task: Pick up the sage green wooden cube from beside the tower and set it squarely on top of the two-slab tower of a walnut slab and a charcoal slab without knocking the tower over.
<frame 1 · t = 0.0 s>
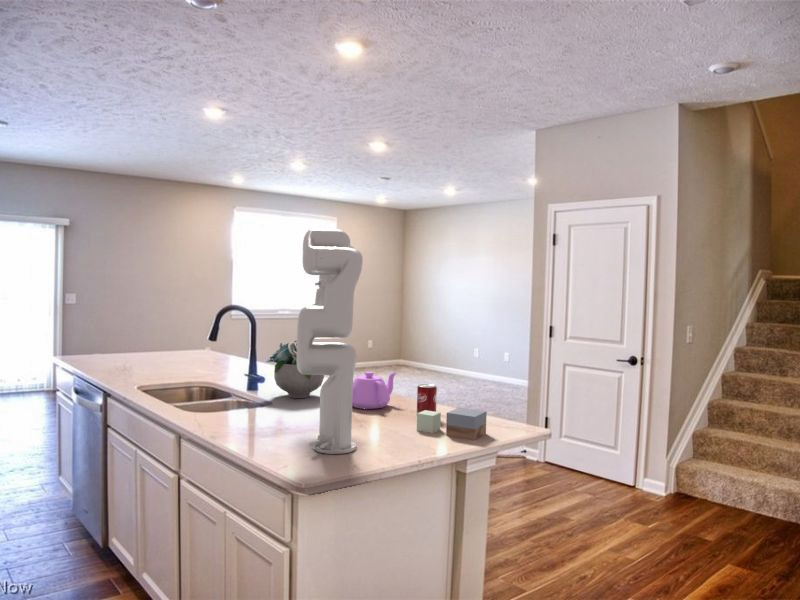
hand: (328, 331, 216), 31 cm above the worktop, tool pointing down, fingers open, 9 cm apart
sage block: (428, 430, 198), on the worktop
flower arrangement: (299, 397, 249), on the worktop
block top: (466, 423, 193), point 4 cm above the worktop, touching block bottom
teapot: (373, 406, 235), on the worktop
soda can: (426, 418, 216), on the worktop
block bottom: (466, 435, 193), on the worktop, touching block top
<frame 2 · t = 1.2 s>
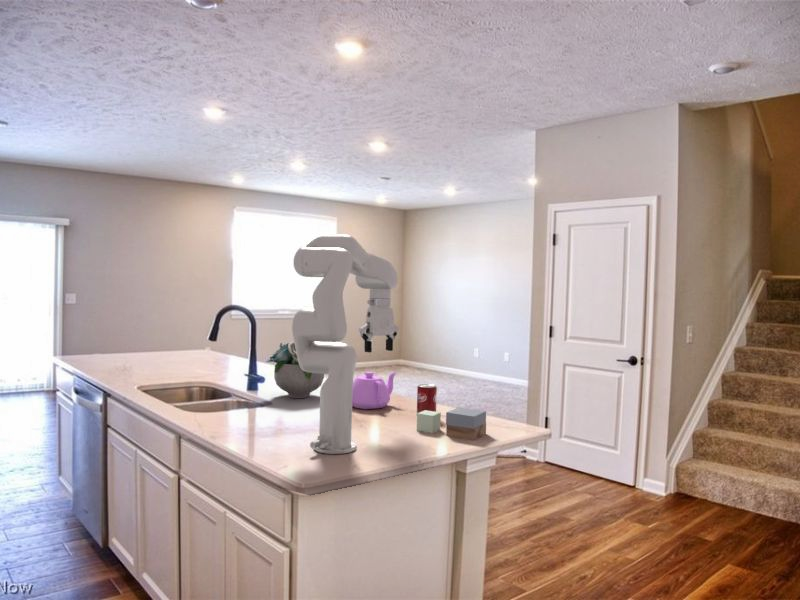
hand: (378, 351, 207), 25 cm above the worktop, tool pointing down, fingers open, 9 cm apart
nothing on the worktop moved.
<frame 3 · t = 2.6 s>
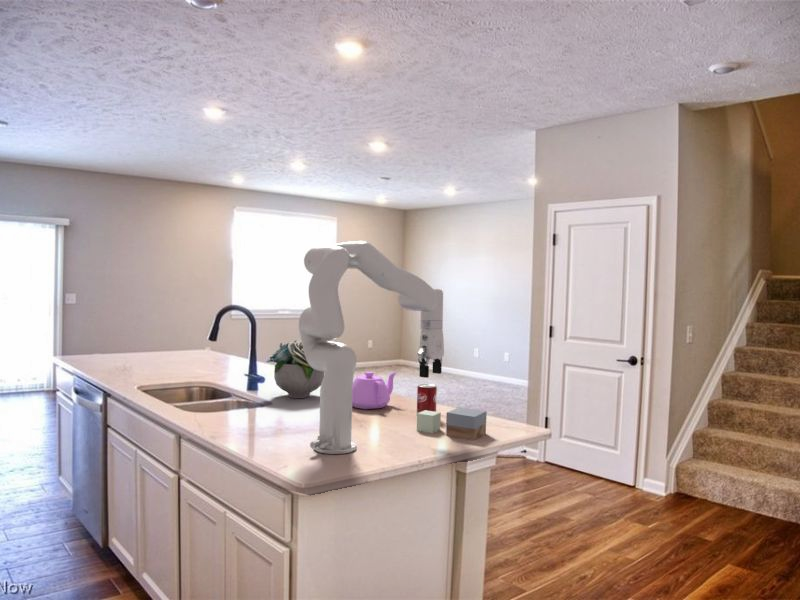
hand: (430, 375, 198), 19 cm above the worktop, tool pointing down, fingers open, 9 cm apart
block top: (466, 423, 193), point 4 cm above the worktop
block bottom: (466, 435, 193), on the worktop
everything else where it was.
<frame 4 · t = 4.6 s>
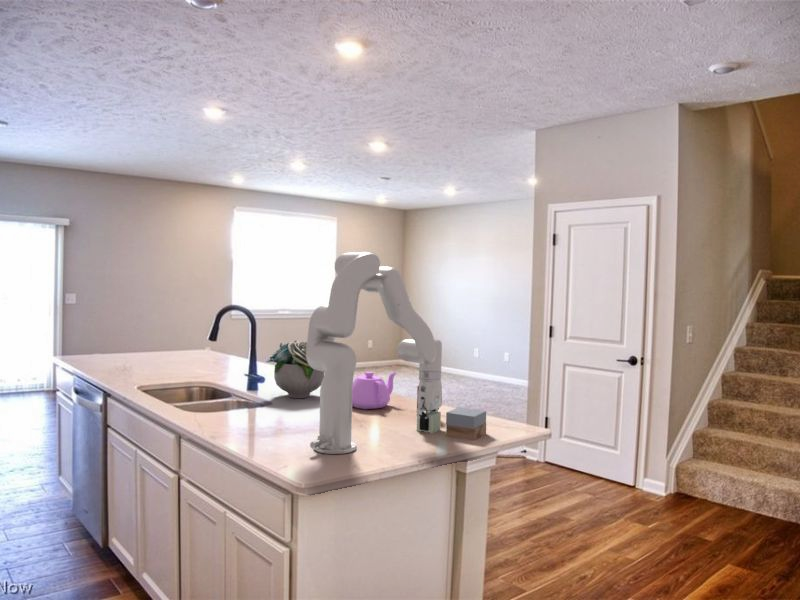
hand: (428, 427, 198), 1 cm above the worktop, tool pointing down, fingers closed on sage block, 6 cm apart
sage block: (428, 430, 198), on the worktop, touching gripper
block top: (466, 423, 193), point 4 cm above the worktop, touching block bottom
block bottom: (466, 435, 193), on the worktop, touching block top
everything else where it was.
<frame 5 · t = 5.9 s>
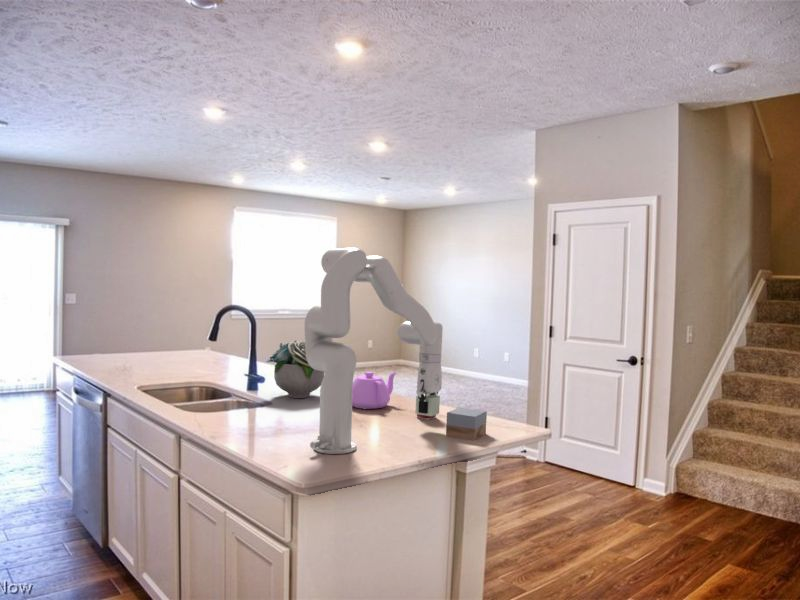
hand: (427, 410, 197), 7 cm above the worktop, tool pointing down, fingers closed on sage block, 6 cm apart
sage block: (427, 413, 197), point 6 cm above the worktop, touching gripper
block top: (466, 423, 193), point 4 cm above the worktop
block bottom: (466, 435, 193), on the worktop
everything else where it was.
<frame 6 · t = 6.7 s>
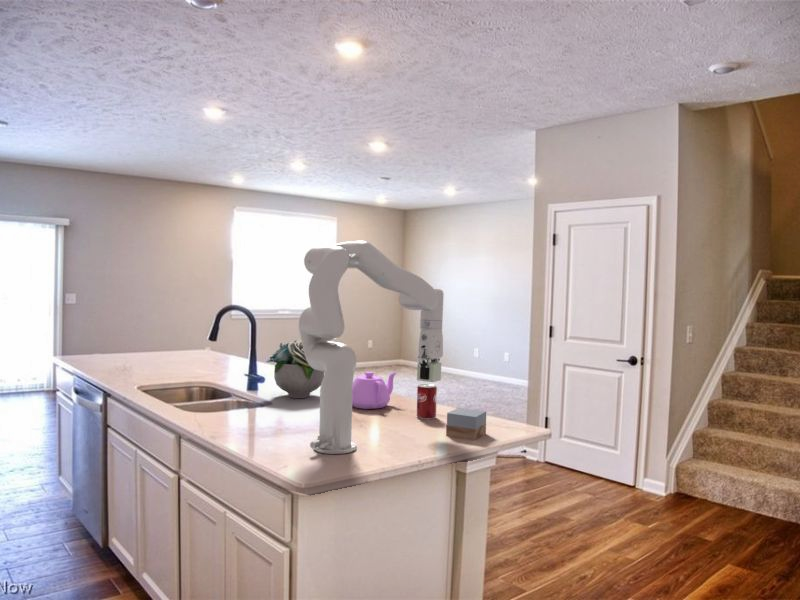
hand: (428, 377, 197), 18 cm above the worktop, tool pointing down, fingers closed on sage block, 6 cm apart
sage block: (428, 380, 197), point 17 cm above the worktop, touching gripper
block top: (466, 424, 193), point 4 cm above the worktop, touching block bottom
block bottom: (466, 435, 193), on the worktop, touching block top
everything else where it was.
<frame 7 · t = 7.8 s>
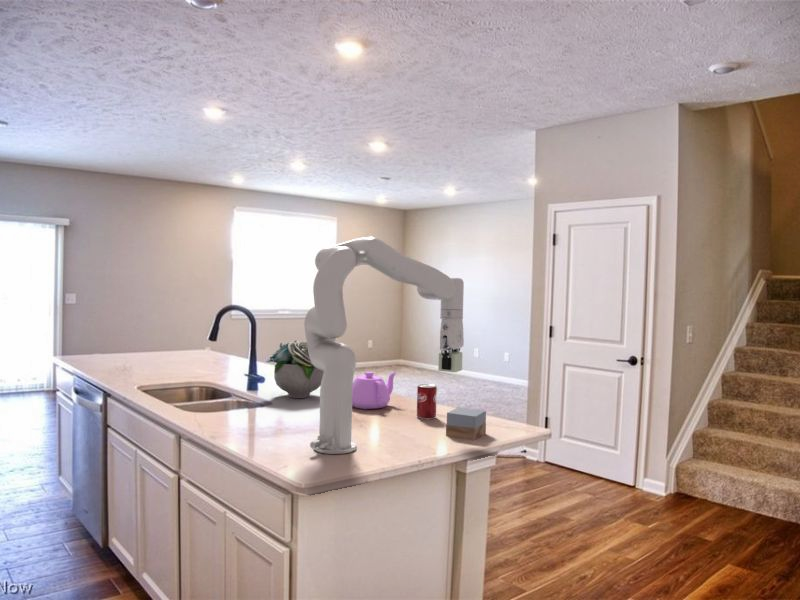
hand: (450, 367, 195), 22 cm above the worktop, tool pointing down, fingers closed on sage block, 6 cm apart
sage block: (450, 370, 195), point 21 cm above the worktop, touching gripper
everything else where it was.
when the fingers open (10 cm above the worktop, at t = 12.0 s): sage block drops 1 cm, resting on block top.
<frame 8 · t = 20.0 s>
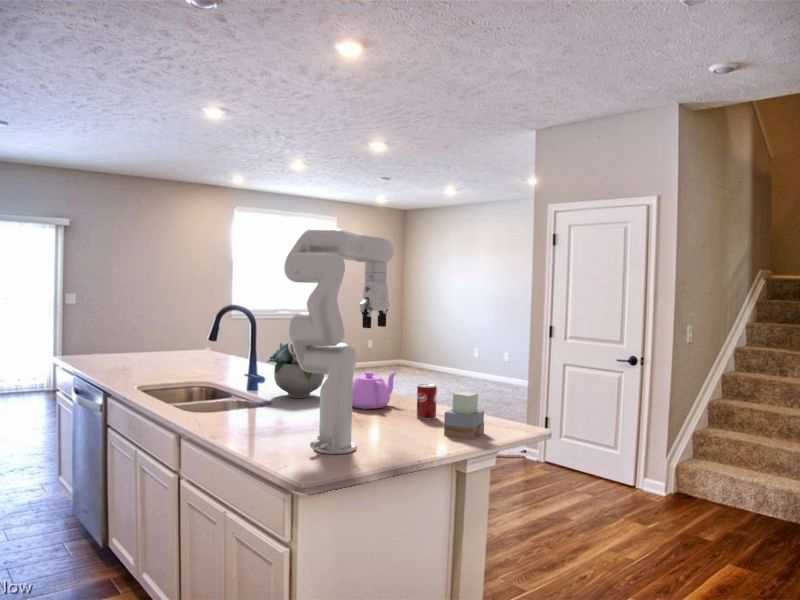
hand: (374, 327, 201), 34 cm above the worktop, tool pointing down, fingers open, 9 cm apart
sage block: (464, 411, 194), point 8 cm above the worktop, touching block top
block top: (464, 423, 194), point 4 cm above the worktop, touching block bottom, sage block
everything else where it was.
at the end: sage block 0.2 cm off-centre on the block top, point 4.0 cm above the block top's base; sage block tilted 0°; block top 0.1 cm off-centre on the block bottom, point 4.0 cm above the block bottom's base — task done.
